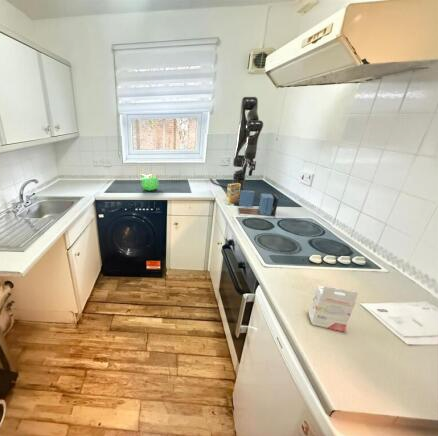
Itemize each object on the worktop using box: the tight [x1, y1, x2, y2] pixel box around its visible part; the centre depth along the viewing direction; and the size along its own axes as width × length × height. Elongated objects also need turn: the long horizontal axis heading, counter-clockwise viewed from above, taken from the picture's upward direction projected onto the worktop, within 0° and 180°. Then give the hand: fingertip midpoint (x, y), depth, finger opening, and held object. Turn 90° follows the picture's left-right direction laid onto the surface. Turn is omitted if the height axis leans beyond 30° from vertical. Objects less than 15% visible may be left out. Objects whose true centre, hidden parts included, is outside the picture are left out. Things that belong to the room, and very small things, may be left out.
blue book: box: [238, 189, 255, 208], centre depth 172 cm, size 3×9×12 cm, turn 75°
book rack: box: [237, 193, 279, 218], centre depth 160 cm, size 12×22×13 cm, turn 75°
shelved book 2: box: [265, 193, 274, 215], centre depth 158 cm, size 9×3×12 cm, turn 165°
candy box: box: [225, 183, 241, 205], centre depth 179 cm, size 9×4×15 cm, turn 107°
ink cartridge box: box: [308, 285, 359, 332], centre depth 72 cm, size 9×5×15 cm, turn 69°
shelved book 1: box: [257, 193, 268, 216], centre depth 159 cm, size 9×3×12 cm, turn 165°
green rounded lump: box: [139, 173, 160, 192], centre depth 215 cm, size 18×17×15 cm
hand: (246, 174), depth 171 cm, fingers open, 8 cm apart
